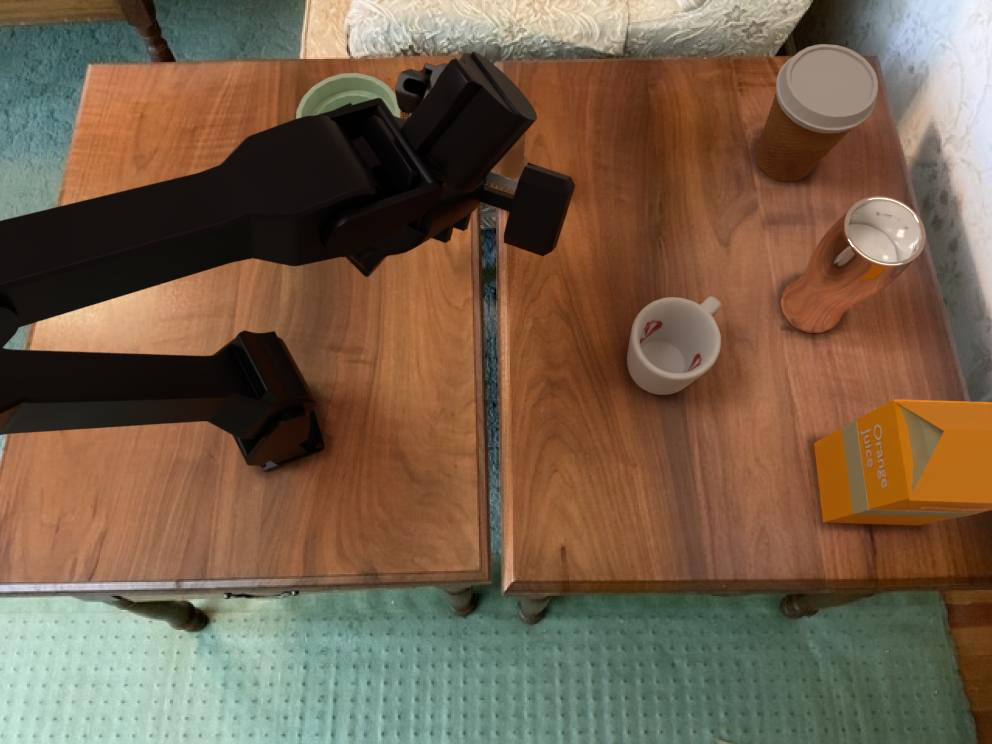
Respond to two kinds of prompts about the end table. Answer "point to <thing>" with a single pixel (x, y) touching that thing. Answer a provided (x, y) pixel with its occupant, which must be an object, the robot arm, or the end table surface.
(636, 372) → the cup
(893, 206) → the beer glass
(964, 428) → the orange juice
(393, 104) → the bowl
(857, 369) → the end table surface
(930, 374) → the end table surface
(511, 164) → the rod
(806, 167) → the disposable coffee cup
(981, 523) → the end table surface
